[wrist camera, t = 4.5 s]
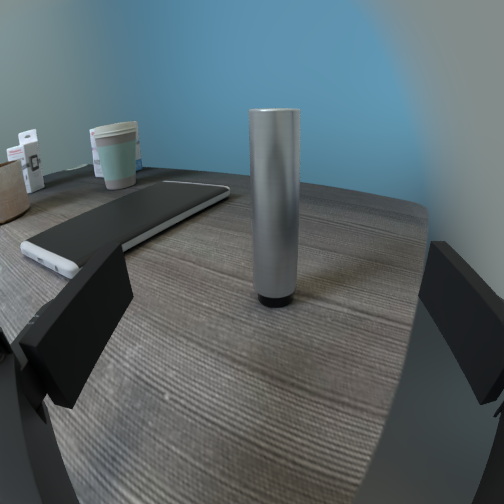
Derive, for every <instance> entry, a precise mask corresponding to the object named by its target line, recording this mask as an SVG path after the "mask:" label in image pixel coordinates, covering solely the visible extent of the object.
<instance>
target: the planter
mask: <svg viewBox="0 0 504 504" xmlns="http://www.w3.org/2000/svg"><path fill="white" fill-rule="evenodd" d="M28 208H29V200H28V195H27V190H26V186H25V181H24V176H23V170H22V164H21V159H17V160H12V161H9V162H5V163H2V164H0V225H1V224H4V223H6V222H9V221H11V220H14V219H16V218H18V217H19V216H21V215H23V214H24V213H25V212H26V211H27V210H28Z"/></svg>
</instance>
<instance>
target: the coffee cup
mask: <svg viewBox="0 0 504 504" xmlns="http://www.w3.org/2000/svg"><path fill="white" fill-rule="evenodd" d="M136 131H137V129H136V126H135V124H134V121H129V122H122V123H116V124H110V125H105V126H100V127H96V128H95V131H94V134H93V136H94V137H93V138H95V143H96V147H97V151H98V156H99V160H100V164H101V168H102V172H103V176H104V180H105V183H106V187H107V189H109V190H116V189H122V188H127V187H130V186H132V185H134V184H135V183H136Z"/></svg>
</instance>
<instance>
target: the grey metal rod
mask: <svg viewBox="0 0 504 504" xmlns="http://www.w3.org/2000/svg"><path fill="white" fill-rule="evenodd" d="M249 135H250V136H249V138H250V170H251V171H250V174H251V209H252V243H253V278H254V289H255V291H256V292H257V293H258V299H259V301H260V303H262V304H263V305H265V306H268V307H275V308H276V307H282V306H285V305H287V304H288V303H289V302H290V301H291V298H292V293H293V292H294V291H295V289H296V282H297V261H298V234H299V199H300V110H299V109H250V110H249Z"/></svg>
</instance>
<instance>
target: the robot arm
mask: <svg viewBox="0 0 504 504" xmlns="http://www.w3.org/2000/svg"><path fill="white" fill-rule="evenodd" d="M418 296H419V298H420V299H421V301H422V302H423V304H424V306H425V307H426V309H427V310H428V312H429V313H430V315H431V317H432V318H433V320H434V322H435V323H436V325H437V327H438V328H439V330H440V332H441V333H442V335H443V337H444V338H445V340H446V342H447V344H448V345H449V347H450V349H451V351H452V352H453V354H454V356H455V358H456V359H457V362H458V363H459V365H460V367H461V369H462V371H463V373H464V374H465V376H466V378H467V380H468V382H469V384H470V386H471V388H472V390H473V392H474V394H475V396H476V398H477V400H478V402H479V404H480V405H483V404H486V403H490V402H493V401H496V400H497V398H498V397H499V395H500V394H501V392H502V391H503V389H504V300H503V299H502V298H500V297H499V296H497V295H496V293H495V292H494V291H493V290H492V289H491V288H490V287H489V286H488V285H487V284H486V283H485V281H484V280H483V279H482V278H481V277H480V276H479V275H478V274H477V273H476V272H475V271H474V270H473V269H472V268H471V267H470V265H469V264H467V262H466V261H465V260H464V259H463V258H462V257H461V256H460V255H459V254H458V253H457V252H456V251H455V250H454V249H453V248H452V247H451V246H450V245H448V244H447V243H446V242H445V241H431V244H430V248H429V253H428V258H427V262H426V267H425V271H424V275H423V279H422V283H421V287H420V291H419V294H418ZM133 297H134V296H133V292H132V288H131V284H130V280H129V276H128V271H127V267H126V262H125V258H124V253H123V248H122V244H121V243H105V244H104V245H103V246H102V247H101V248H100V250H99V251H98V252H97V253H96V254H95V255H94V256H93V257H92V258H91V259H90V260H89V261H88V262H87V263H86V264H85V265H84V266H83V267H82V268H81V270H80V271H79V272H78V273H77V274H76V275H75V276H74V277H73V278H72V279H71V280H70V282H69V283H68V284H67V285H66V286H65V287H64V288H63V289H62V291H61V292H60V293H59V294H58V295H57V296H56V297H55V299H52V300H51V301H49V302H48V303H46V304H45V305H43V306H42V307H41V308H40V309H39V311H38V312H37V313H36V314H35V317H33V318H32V319H31V320H30V321H29V324H27V325H26V326H25V327H24V329H23V330H22V331H21V332H20V333H19V335H18V336H17V337H16V338H15V340H14V341H13V342H12V343H11V345H10V344H9V342H8V340H7V338H6V336H5V334H4V332H3V330H2V328H1V327H0V504H80V503H79V501H78V499H77V496H76V494H75V491H74V489H73V486H72V484H71V481H70V479H69V476H68V473H67V471H66V468H65V465H64V462H63V459H62V457H61V454H60V451H59V447H58V444H57V441H56V438H55V434H54V431H53V428H52V424H51V420H50V417H49V413H48V409H47V406H46V404H45V402H44V401H43V399H44V398H45V396H46V394H48V395H49V397H50V398H51V400H52V401H53V403H54V404H55V405H58V406H62V407H66V408H69V409H73V407H74V405H75V403H76V401H77V399H78V397H79V395H80V393H81V391H82V389H83V387H84V385H85V383H86V381H87V379H88V377H89V375H90V374H91V372H92V370H93V368H94V366H95V364H96V362H97V361H98V359H99V357H100V355H101V353H102V351H103V350H104V348H105V346H106V344H107V342H108V341H109V339H110V337H111V335H112V333H113V332H114V330H115V328H116V326H117V325H118V323H119V321H120V320H121V318H122V316H123V314H124V313H125V311H126V309H127V308H128V306H129V304H130V302H131V301H132V299H133ZM500 412H501V416H500V418H499V419H500V420H499V424H498V428H497V432H496V435H495V439H494V443H493V446H492V449H491V453H490V456H489V459H488V462H487V465H486V468H485V471H484V474H483V476H482V479H481V482H480V484H479V487H478V490H477V492H476V495H475V497H474V500H473V502H472V504H504V401H503V403H502V404H501V406H500V407H499V409H498V410H497V411H496V413H495V414H494V416H493V417H497V415H498V414H499V413H500Z"/></svg>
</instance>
